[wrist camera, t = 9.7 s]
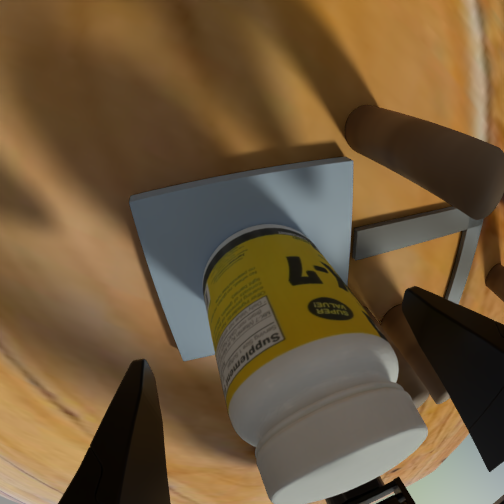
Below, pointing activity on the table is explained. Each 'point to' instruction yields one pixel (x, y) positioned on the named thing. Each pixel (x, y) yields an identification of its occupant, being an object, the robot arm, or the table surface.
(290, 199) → the pad
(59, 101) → the table surface
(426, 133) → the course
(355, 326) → the supplement bottle
